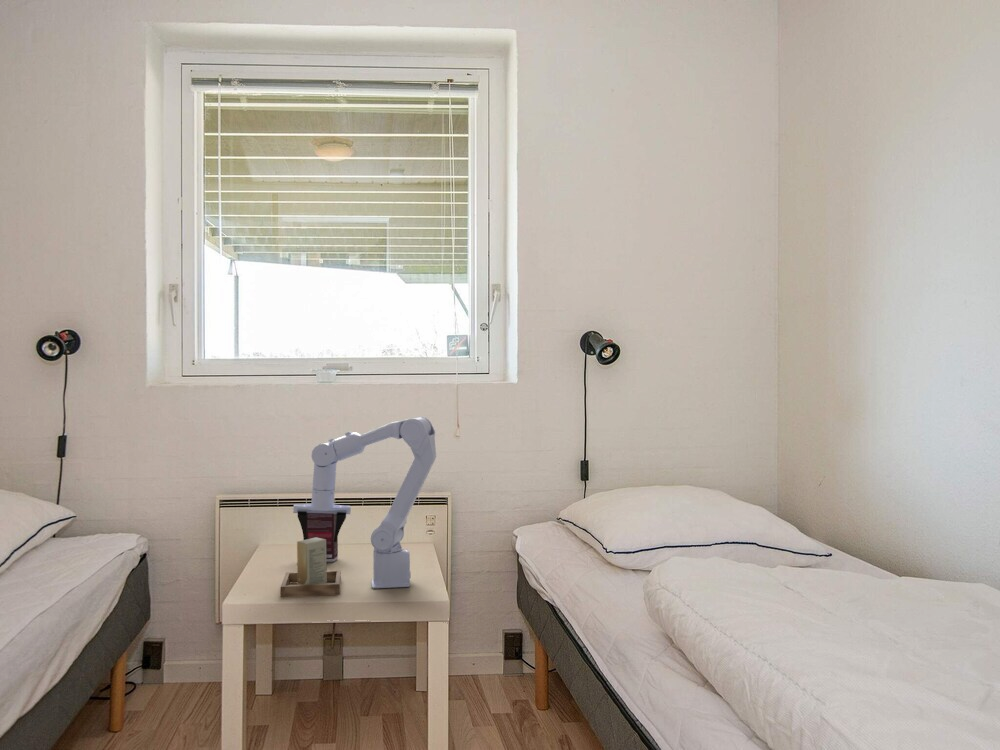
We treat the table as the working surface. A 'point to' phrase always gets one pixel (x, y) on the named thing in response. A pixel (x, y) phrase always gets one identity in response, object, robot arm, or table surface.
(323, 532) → the supplement box
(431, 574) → the table surface
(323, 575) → the skincare box
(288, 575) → the walnut box
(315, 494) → the robot arm
